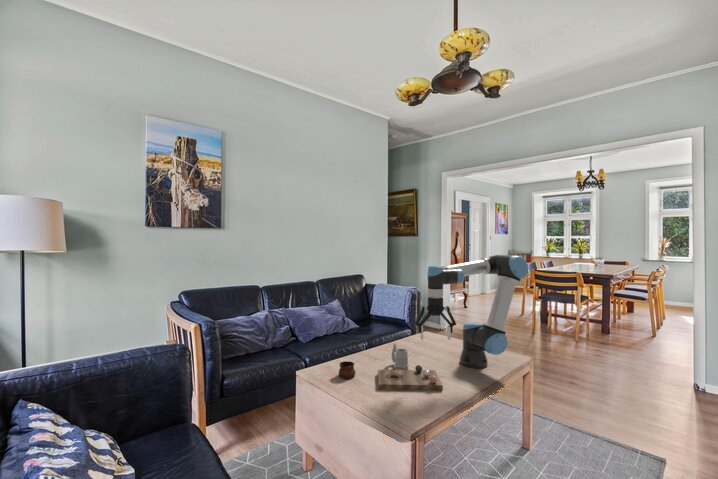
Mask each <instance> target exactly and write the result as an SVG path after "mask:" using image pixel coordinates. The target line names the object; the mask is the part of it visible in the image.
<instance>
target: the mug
mask: <svg viewBox="0 0 718 479" xmlns="http://www.w3.org/2000/svg"><path fill="white" fill-rule="evenodd" d="M408 353H409V352H408V349H406V348H397V344H396V343H393V346H392V351H391V361H392V363H394V368H395V370H409V355H408Z"/></svg>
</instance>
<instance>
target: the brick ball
mask: <svg viewBox="0 0 718 479" xmlns="http://www.w3.org/2000/svg"><path fill="white" fill-rule="evenodd" d="M429 380H430V382H431V383H436V381H437V378H436V376H434V375H432V376H430V378H429Z"/></svg>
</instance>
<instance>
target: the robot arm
mask: <svg viewBox="0 0 718 479" xmlns="http://www.w3.org/2000/svg"><path fill="white" fill-rule="evenodd" d="M528 273H529V263H528V262H527V260H526V259H525V258H524V257H523V256H521V255H515V254H512V255H507V254H495V255H490V256H485V257H481V258H480V259H478V260H473V261H468V262H460V263H456V264H455V263H454V264H449V265H429V266H428V268H427V296H428V297H427V306H424V305H422V306H421V308H420V312H419V314H418V316H417V317H416V320H415V321H414V324H415V326H418V333H419V334H420V340H421V341H423V340H424V327H423V325H424V324H425V323H426V322H427V320H428V319H429V318H430V317H431V316H432V317H436V316H437V317H439V316H441V317H442V319H444V321H445V322H446V323H447V339H448V341H451V339H452V338H451V334H453V327H454V326H457V322H456V320H455V318H454V317H453V315H452V312H451V308H450V306H449V305H447V306H444V298H443V297H444V285H458V284H459V285H460V284H462V283H463V282H464V280H465V277H468V276H474V275H480V274H483V275H497V276H496V277H497V278H498V280H499V281H498V283H497V287H496V290H495V293H494V298H493V301H492V305H491V307H490V312H489V316H488V318H487V321H486V322H485V323H484V322H477V321H476V322H475V321H474V322H465V323H464V324H463V325H462V350H461V353H460V356H459V363H460V364H461V365H463V366H464V367H467V366H468V368H472V369H473V368H474V369H483V368H486V367H487V366H488V365H489V364H488V363H489V362H488V357H487V356H486V355H487V354H486V353H488V354H491V355H495V356H498V355H501V354H502V353H504V352H505V351H506V350H507V347H508V345H509V340H508V337H507V336H506V334H507V333H506V332H507V330H506V329H505V325H506V322H507V318H508V314H509V310H510V306H511V305H512V304H511V303H512V301H513V300H512V299H513V297H514V293H515V290H516V289H515V288H516V286H517V285H518V284H520V283H521V280H522V279H523V278H525V277H526V276H527V275H528ZM426 311H428V312H427V313H426V314H425V315H424V313H425V312H426ZM444 311H445V312H447V315H448V318H449V319H450V320H451V321H450V320H449V319H448V318H447V316H446V315H445V314H444V313H443V312H444ZM423 315H424V317H423ZM482 367H483V368H482Z"/></svg>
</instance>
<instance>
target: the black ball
mask: <svg viewBox="0 0 718 479" xmlns="http://www.w3.org/2000/svg"><path fill="white" fill-rule="evenodd" d="M414 370H416V371H417V372H421V371H422V370H423V367H422V366H421V365H420V364H418V365H416V366H415V368H414Z"/></svg>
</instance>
